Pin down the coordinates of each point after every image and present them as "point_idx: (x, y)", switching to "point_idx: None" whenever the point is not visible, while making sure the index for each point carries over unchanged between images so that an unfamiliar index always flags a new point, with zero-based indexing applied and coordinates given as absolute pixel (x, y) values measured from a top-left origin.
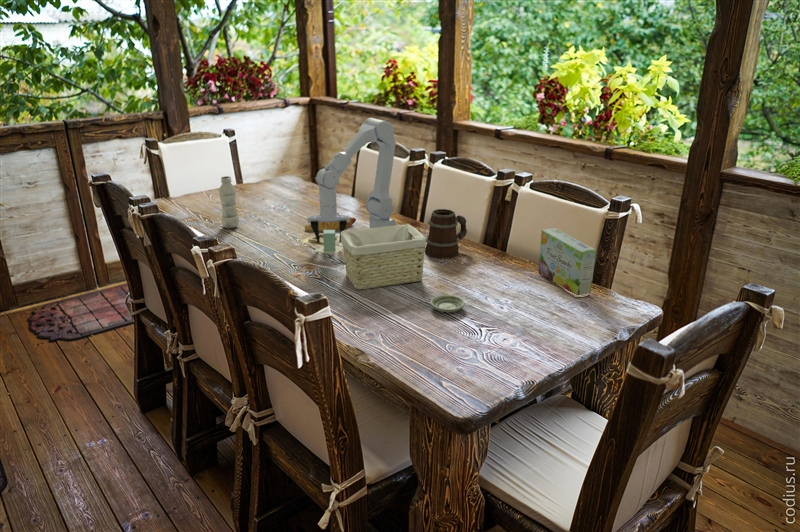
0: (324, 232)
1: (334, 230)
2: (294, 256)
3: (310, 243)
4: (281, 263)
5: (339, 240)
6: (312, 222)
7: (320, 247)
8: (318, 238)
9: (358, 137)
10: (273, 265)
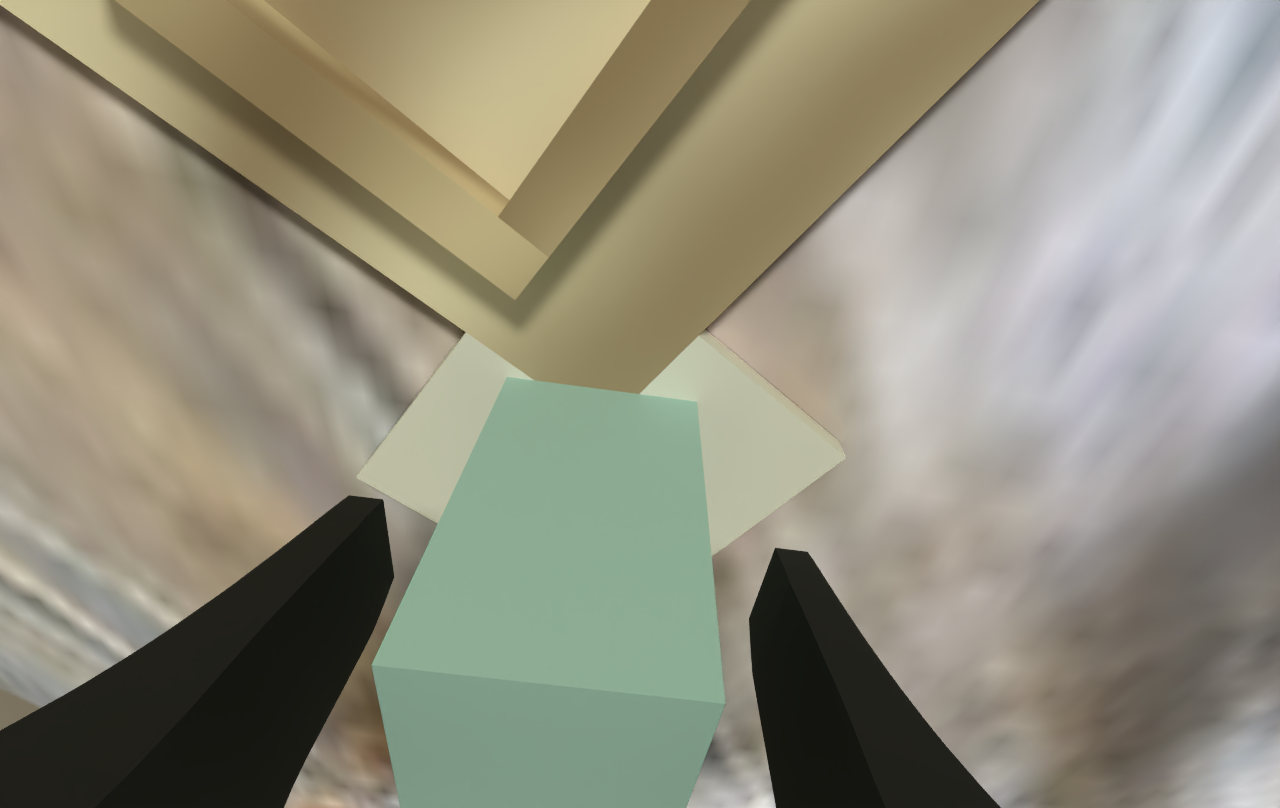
0: (425, 792)
1: (696, 738)
2: (146, 534)
3: (194, 112)
4: (92, 656)
5: (752, 664)
6: None
7: (441, 375)
8: (343, 670)
9: None
10: (37, 677)
